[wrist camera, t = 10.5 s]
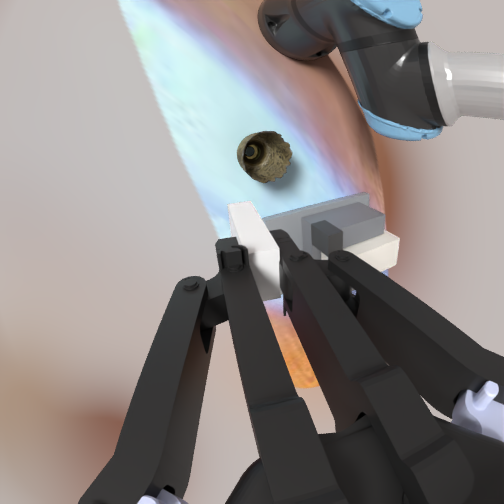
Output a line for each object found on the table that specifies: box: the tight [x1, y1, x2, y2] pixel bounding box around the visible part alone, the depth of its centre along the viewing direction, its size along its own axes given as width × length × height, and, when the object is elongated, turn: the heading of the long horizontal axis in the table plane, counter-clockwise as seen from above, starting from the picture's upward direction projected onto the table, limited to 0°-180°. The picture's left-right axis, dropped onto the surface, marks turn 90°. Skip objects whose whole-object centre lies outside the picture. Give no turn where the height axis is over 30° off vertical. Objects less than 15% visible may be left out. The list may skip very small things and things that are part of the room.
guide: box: [262, 192, 385, 295], centre depth 52 cm, size 24×17×10 cm
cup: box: [237, 131, 292, 183], centre depth 40 cm, size 8×7×8 cm
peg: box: [321, 230, 400, 272], centre depth 50 cm, size 14×6×7 cm, turn 98°
